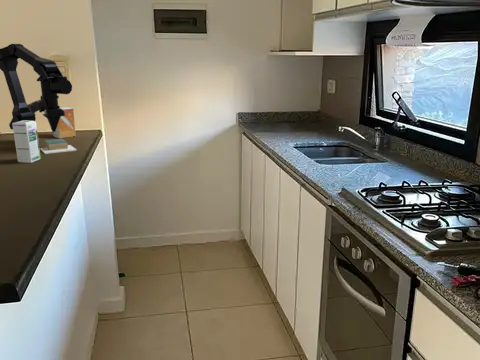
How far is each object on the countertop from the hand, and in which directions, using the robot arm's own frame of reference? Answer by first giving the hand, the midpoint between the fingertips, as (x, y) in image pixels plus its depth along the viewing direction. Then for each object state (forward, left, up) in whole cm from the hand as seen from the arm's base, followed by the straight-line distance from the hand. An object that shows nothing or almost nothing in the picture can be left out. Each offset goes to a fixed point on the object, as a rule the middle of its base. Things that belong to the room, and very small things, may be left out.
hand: (53, 131), depth 189 cm
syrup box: (+19, -13, -7) cm, 24 cm away
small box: (-22, +9, -7) cm, 25 cm away
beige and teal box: (-1, 0, -5) cm, 5 cm away
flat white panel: (+5, 0, -7) cm, 8 cm away
